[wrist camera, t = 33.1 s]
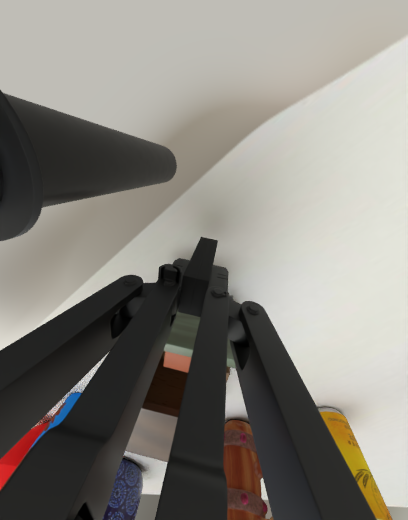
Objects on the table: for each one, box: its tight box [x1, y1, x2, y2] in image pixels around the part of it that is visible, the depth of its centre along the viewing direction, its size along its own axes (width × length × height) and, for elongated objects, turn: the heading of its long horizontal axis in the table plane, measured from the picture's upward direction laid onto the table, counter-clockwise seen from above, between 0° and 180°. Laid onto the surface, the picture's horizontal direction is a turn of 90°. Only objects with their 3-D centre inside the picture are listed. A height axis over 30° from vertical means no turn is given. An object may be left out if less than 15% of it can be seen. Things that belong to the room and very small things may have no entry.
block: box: [163, 351, 191, 373], centre depth 24 cm, size 4×4×4 cm
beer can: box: [317, 407, 392, 520], centre depth 27 cm, size 6×6×15 cm
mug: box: [223, 420, 273, 520], centre depth 32 cm, size 15×8×15 cm, turn 117°
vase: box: [0, 422, 49, 489], centre depth 46 cm, size 18×18×19 cm
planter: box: [102, 459, 143, 520], centre depth 53 cm, size 16×17×15 cm
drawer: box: [144, 295, 236, 410], centre depth 23 cm, size 18×11×8 cm, turn 170°
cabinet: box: [125, 401, 179, 462], centre depth 30 cm, size 15×13×10 cm
